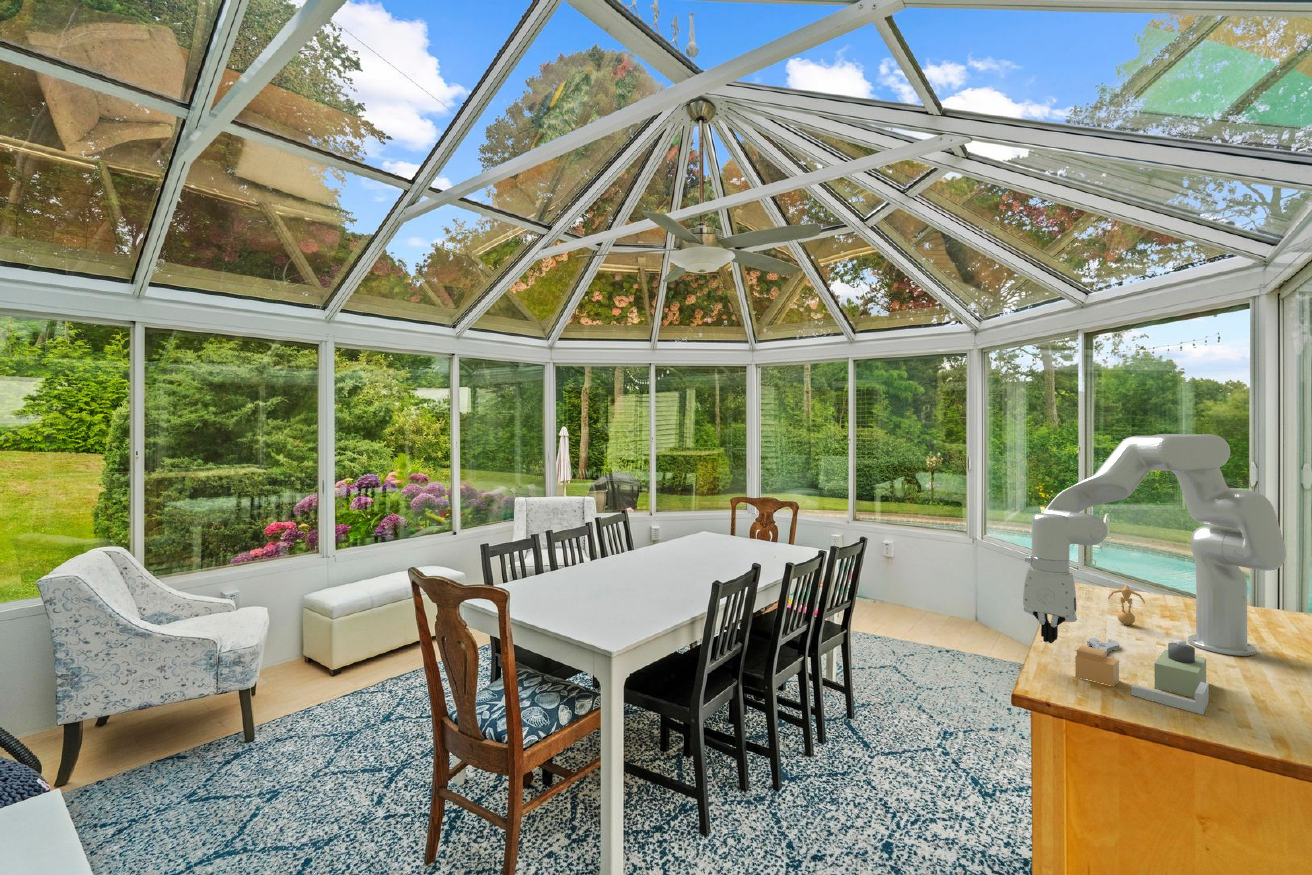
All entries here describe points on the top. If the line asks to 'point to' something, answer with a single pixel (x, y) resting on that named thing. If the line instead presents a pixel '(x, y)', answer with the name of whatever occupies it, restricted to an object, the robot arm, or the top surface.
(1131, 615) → the figurine
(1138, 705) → the top surface
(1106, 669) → the stepped orange block
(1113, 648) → the adjustable wrench
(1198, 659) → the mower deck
